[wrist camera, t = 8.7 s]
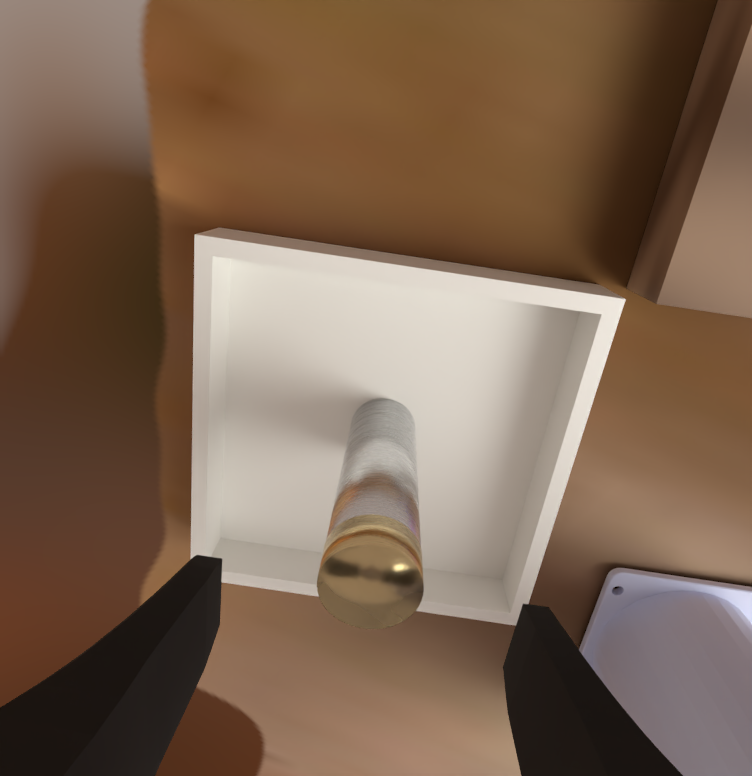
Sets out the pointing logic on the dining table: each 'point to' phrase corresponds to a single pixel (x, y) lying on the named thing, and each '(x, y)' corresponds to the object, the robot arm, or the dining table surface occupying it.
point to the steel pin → (375, 523)
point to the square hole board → (707, 183)
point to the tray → (392, 381)
